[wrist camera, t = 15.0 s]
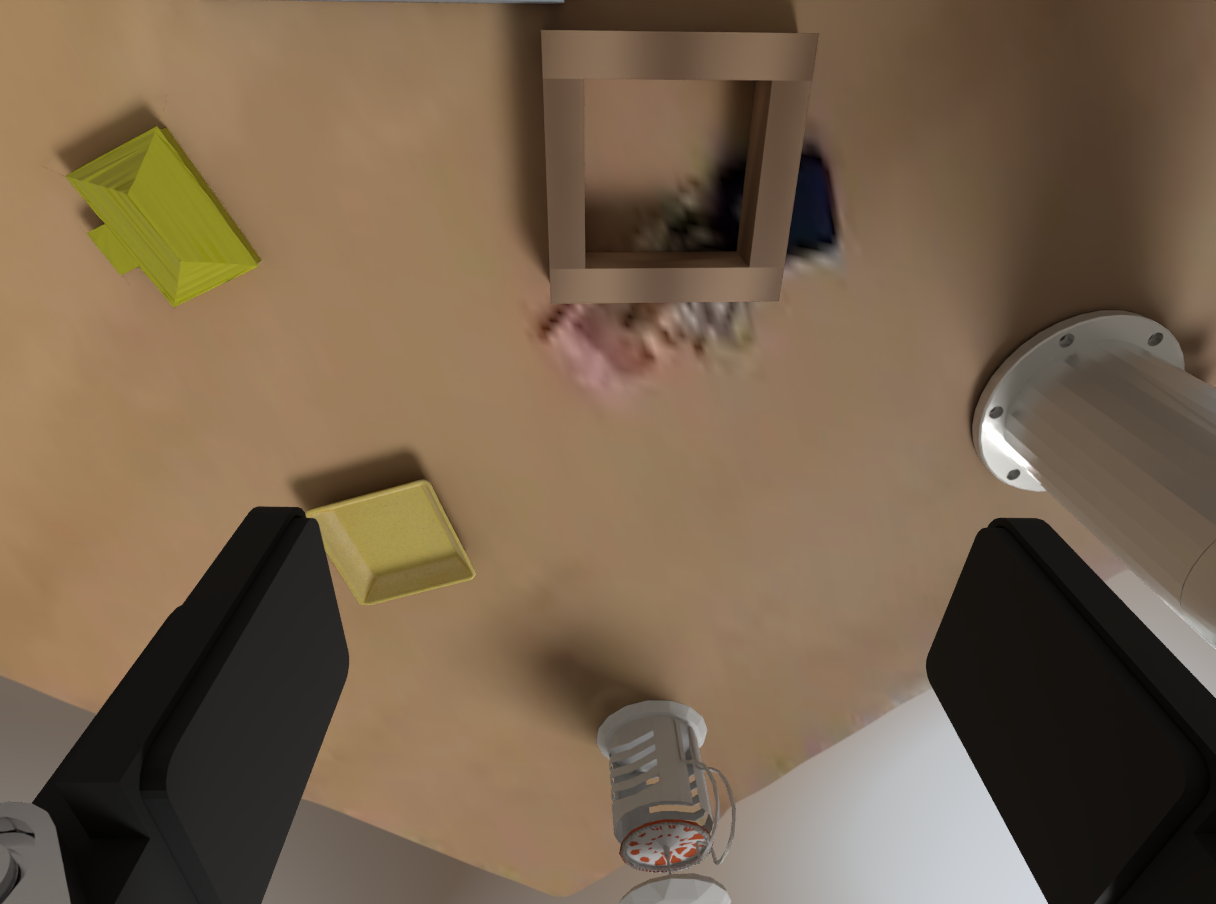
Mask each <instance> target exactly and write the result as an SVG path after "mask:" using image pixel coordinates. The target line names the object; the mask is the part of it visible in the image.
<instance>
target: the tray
mask: <svg viewBox="0 0 1216 904" xmlns="http://www.w3.org/2000/svg"><path fill="white" fill-rule="evenodd" d="M296 1H366V2H436V3H506V4H564V0H296Z"/></svg>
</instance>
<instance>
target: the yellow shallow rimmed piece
mask: <svg viewBox="0 0 1216 904" xmlns="http://www.w3.org/2000/svg"><path fill="white" fill-rule="evenodd" d="M305 515H306V517H307V518H315V519H316V520H317V521H318V524H319V527H320V531H321V535H322V539H323V544H324V548H325V551H326V553H327V554H328V556H329V557H330V559H331V561H332V562H333V563H334V565H335V566H336V568H337V570H338V571H339V573H340V574H341V576H342V577H343V579H344V580H345V582H346V584H347V585H348V587H349V588H350V590H351V591H352V593H353V595H354V596H355V598H356V599H357V601H358V603H360V604H363V605H372V604H377V603H381V602H385V601H388V600H393V599H397V598H400V597H404V596H409V595H412V594H417V593H421V592H424V591H428V590H432V589H436V588H440V587H444V586H448V585H452V584H457V583H460V582H465V581H469V580H471V579H473V578H474V577H475V575H476V572H475V570H474V568H473V566H472V564H471V562H470V560H469V558H468V556H467V554H466V552H465V550H464V548H463V547H462V545H461V543H460V541H459V539H458V537H457V535H456V533H455V531H454V529H453V527H452V525H451V523H450V521H449V519H448V517H447V515H446V513H445V511H444V509H443V507H442V505H441V504H440V502H439V500H438V497H437V495H436V493H435V491H434V489H433V487H432V485H431V484H430V482H429V481H427V480H425V479H421V480H417V481H413V482H410V483H406V484H402V485H398V486H395V487H391V488H387V489H384V490H380V491H376V492H373V493H369V494H365V495H361V496H357V497H354V498H350V499H346V500H343V501H339V502H335V503H331V504H328V505H324V506H320V507H316V508H313V509H310V510H307V511H305Z"/></svg>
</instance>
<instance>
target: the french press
mask: <svg viewBox="0 0 1216 904" xmlns="http://www.w3.org/2000/svg"><path fill="white" fill-rule="evenodd" d="M706 733H707V728H706V725H705V722H704V720H703V717H702V716H701V715H700V714H698V713H697V712H696V711H695V710H693V709H692V708H691V707H690V706H687V705H683V704H680V703H677V702H673V701H666V700H647V701H643V702H639V703H635V704H631V705H627V706H625V707H623V708H621V709H620V710H618V711H616V712H615V713H613V714H611V715H609V716H608V717H607V719H606V720H605V721H604V723H603V724H602V725H601V726H600V728H599V729H598V736H597V744H598V746H599V748H600V750H601V752H602V754H603V755H604V756H605V757H607V758H608V759H610V761H609V766H610V771H611V774H610V780H611V785H612V788H611V795H612V800H613V804H612V812H613V825H614V835H615V837H616V838H617V840H618V842H619V843H620V844H621V847H620V853H619V854H620V856H621V857H622V859H623V861H624V862H625V863H626V864H628V865H630V866H631V867H633V868H634V869H636V870H637V869H638V870H640V871H643V872H645V871H647V872H651V873H652V872H655V873H656V872H659V873H661V872H663V873H665V872H668V874H669V875H667V876H663V877H658V878H653V879H649V880H647V881H645V882H643V883H641V884H639V885H637V886H635V887H633V888H632V889H631V890H630V891H629V892H628V893H627V894H626V895H625V896H624V897H623V898H622V899H621V901H620V903H619V904H730V903H731V900H730V897H729V895H728V892H727V890H726V889H725V887H724V886H723V885H722V884H720V883H719V882H717V881H715V880H714V879H713V878H711V877H707V876H702V875H698V874H693V873H692V874H691V873H690V874H671V872H674V871H678V870H680V871H681V870H682V869H683V870H685V869H686V868H688V869H689V868H690V866H691V867H692V866H693V865H696V864H699V863H700V862H701V861H702V860H703V859H704V858H705V857H707V856H708V854H709V853H710V852H711V853H712V857H713V860H714V863H715V864H716V865H718V864H721V863H722V862H723V860H724V858H725V857H726V855H727V853H728V852H729V850H730V847H731V843H732V840H733V836H734V828H735V809H736V808H735V804H734V799H733V795H732V791H731V788H730V786H729V783H728V781H727V779H726V778H725V777H724V775H723V774H722V773H721V772H720V771H719V770H717V769H714V768H712V767H707V766H706V765H705V764H704V763H702V761H701V756H700V751H699V748H700V747H701V746H702V744H703V743H704V740H705V736H706ZM611 764H613V769H612V767H611ZM704 771H706V772H707V774H708V775H709V777H710V780H711V782H712V784H713V789H714V795H715V800H716V810H715V823H714V828H713V831H712V835H711V836H710V834H709V833H710V832H711V830H712V826H713V819H712V814H711V808H710V803H709V798H708V792H707V787H706V782H705V777H704ZM710 771H713V772H715V773H717V774H719V775H720V777H721V778H722V780H723V782H724V783H725V785H726V787H727V791H728V794H729V798H730V801H731V805H732V826H731V834H730V838H729V841H728V845H727V849H726V850H725V852H724V854H723V855H722V857H721V859H720V860H718V861H717V860H716V856H715V852H714V850H713V848H712V845H713V842H714V837H715V833H716V829H717V825H718V821H719V796H718V791H717V786H716V781H715V780H714V778H713V776H712V774H711V772H710ZM693 774H695V779H696V780H695V781H693V782H692V783H690V782H689V777H690V776H692V775H693ZM655 777H659V779H660V781H659V782H657V783H655V784H651V785H646V780H648V779H650V778H655ZM612 778H614V783H613V781H612ZM696 788H697V790H698V795H696V796H694V797H693V798H692V794H691V791H692V790H694V789H696ZM614 792H615V798H614V795H613V793H614ZM699 802H700V807H701V808H702V809H700V810H699V811H697V812H695V813H688V812H678V811H660V812H655V813H649V807H652V806H656V805H686V806H694V805H696V804H698V803H699ZM706 811H707V812H708V813H709V815H708V817H707V820H706V823H705V825H703V826H700V825H699V824H697V823H695V822H691V821H697V820H699V819H700V818H702V817H704V815H705V812H706ZM661 819H662V820H661ZM657 820H658V821H657ZM686 820H689V821H686ZM652 821H654V822H652Z"/></svg>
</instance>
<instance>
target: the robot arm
mask: <svg viewBox="0 0 1216 904" xmlns="http://www.w3.org/2000/svg"><path fill="white" fill-rule="evenodd" d="M972 432H973V443H974V446H975V450H976V453H977V455H978V457H979V458H980V460H981V461H982V463H983V464H984V466H985V467H986V468H987V469H988V470H989V471H990V472H991V473H992V474H993V475H994V476H995V477H997V478H998V479H999V480H1001V481H1002V482H1004V483H1005V484H1008V485H1010V486H1013V487H1016V488H1018V489H1022V490H1029V491H1047V492H1049V493H1050V494H1051V495H1052V496H1053V497H1054V498H1055V499H1056V500H1057V501H1058V502H1059V503H1060V504H1061V505H1062V506H1063V507H1064V508H1065V509H1067V510H1068V511H1069V512H1070V513H1071V514H1072V515H1073V516H1074V517H1075V518H1076V519H1077V520H1078V521H1079V522H1080V523H1081V524H1082V525H1083V526H1084V527H1086V528H1087V529H1088V530H1089V531H1090V532H1091V533H1092V534H1093V535H1094V536H1095V537H1096V538H1097V539H1098V540H1099V541H1100V542H1101V543H1102V544H1103V545H1105V546H1106V547H1107V548H1108V549H1109V550H1110V551H1111V552H1112V553H1113V554H1114V555H1115V556H1116V557H1117V558H1118V559H1119V560H1120V561H1121V562H1122V563H1124V564H1125V565H1126V566H1127V567H1128V568H1129V569H1130V570H1131V571H1132V572H1133V573H1134V574H1135V575H1136V576H1137V577H1138V578H1139V579H1141V581H1143V582H1144V583H1145V584H1146V585H1147V586H1148V587H1149V588H1150V589H1151V590H1152V591H1153V592H1154V593H1155V594H1156V595H1157V596H1158V597H1159V598H1161V599H1162V600H1163V601H1164V602H1165V603H1166V604H1167V605H1168V606H1169V607H1170V608H1171V609H1172V610H1173V611H1174V612H1175V613H1176V614H1177V615H1179V616H1180V617H1181V618H1182V619H1183V620H1184V621H1185V622H1186V623H1187V624H1188V625H1189V626H1190V627H1192V628H1193V629H1194V630H1195V631H1196V632H1197V633H1198V634H1199V635H1200V636H1201V637H1202V638H1204V640H1205V641H1207V643H1209V644H1210V645H1211V646H1212V647H1214V648H1215V649H1216V388H1215V387H1213V386H1211V385H1209V384H1207V383H1206V382H1204V381H1202V380H1200V379H1198V378H1196V377H1195V376H1193V375H1191V374H1189V373H1187V372H1185V364H1184V355H1183V353H1182V350H1181V347H1180V345H1179V342H1178V341H1177V340H1176V338H1175V337H1174V336H1173V335H1172V334H1171V332H1170V331H1169V330H1168V329H1166V328H1165V327H1163V326H1162V325H1160V324H1159V323H1157V322H1155V321H1153V320H1151V319H1149V318H1147V317H1144V316H1142V315H1140V314H1137V313H1132V312H1127V311H1122V310H1102V311H1096V312H1091V313H1086V314H1081V315H1078V316H1075V317H1072V318H1069V319H1067V320H1064V321H1061V322H1059V323H1057V324H1055V325H1053V326H1051V327H1049V328H1047V329H1045V330H1043V331H1041V332H1040V333H1038V334H1037V335H1035V336H1034V337H1033V338H1031V339H1030V340H1028V341H1027V342H1025V343H1024V344H1023V345H1021V346H1020V347H1019V348H1018V349H1017V350H1016V351H1015V352H1014V353H1013V354H1011V355H1010V356H1009V357H1008V358H1007V359H1006V360H1005V361H1004V362H1003V364H1002V365H1001V366H1000V367H999V368H998V370H997V371H996V372H995V373H994V375H993V376H992V377H991V379H990V380H989V382H988V384H987V385H986V387H985V389H984V390H983V392H982V394H981V396H980V399H979V402H978V404H977V407H976V409H975V414H974V419H973V425H972ZM348 669H349V653H348V648H347V644H346V639H345V635H344V631H343V626H342V622H341V618H340V613H339V609H338V605H337V600H336V596H335V592H334V587H333V583H332V579H331V574H330V570H329V566H328V561H327V557H326V552H325V548H324V544H323V539H322V535H321V531H320V527H319V524H318V521H317V520H316V519H315V518H307V517H306V515H305V512H304V511H303V510H302V509H301V508H299V507H255V508H253V509H252V510H251V511H250V512H249V513H248V515H247V516H246V517H245V519H244V520H243V522H242V523H241V524H240V526H239V527H238V529H237V530H236V531H235V533H234V534H233V535H232V537H231V538H230V540H229V541H228V542H227V544H226V545H225V547H224V548H223V549H222V551H221V552H220V553H219V555H218V556H217V558H216V559H215V560H214V562H213V563H212V565H211V566H210V567H209V569H208V570H207V571H206V573H205V574H204V576H203V577H202V578H201V580H200V581H199V583H198V584H197V585H196V587H195V588H194V589H193V591H192V592H191V594H190V595H189V596H188V598H187V599H186V601H185V602H184V603H183V605H181V606H179V607H177V608H176V609H175V610H174V611H173V612H172V613H171V614H170V615H169V617H168V618H167V619H166V621H165V622H164V623H163V625H162V626H161V627H160V629H159V630H158V631H157V633H156V634H155V636H154V637H153V638H152V640H151V641H150V642H149V644H148V645H147V646H146V648H145V649H144V651H143V652H142V653H141V655H140V656H139V657H138V659H137V660H136V661H135V663H134V664H133V666H132V667H131V668H130V670H129V671H128V672H127V674H126V675H125V677H124V678H123V679H122V681H121V682H120V683H119V685H118V686H117V687H116V689H115V690H114V692H113V693H112V694H111V696H110V697H109V698H108V700H107V701H106V702H105V704H104V705H103V707H102V708H101V709H100V711H99V712H98V713H97V715H96V716H95V718H94V719H93V720H92V722H91V723H90V724H89V726H88V727H87V729H86V730H85V731H84V733H83V734H82V735H81V737H80V738H79V740H78V741H77V742H76V743H75V745H74V746H73V748H72V749H71V750H70V752H69V753H68V754H67V756H66V757H65V759H64V760H63V761H62V763H61V764H60V765H59V767H58V768H57V769H56V771H55V772H54V774H53V775H52V776H51V778H50V779H49V780H48V782H47V783H46V784H45V786H44V787H43V789H42V790H41V791H40V793H39V794H38V795H37V797H36V798H35V800H34V801H33V802H32V803H22V802H4V803H0V904H261V903H262V900H263V897H264V895H265V892H266V889H267V887H268V884H269V881H270V879H271V876H272V874H273V871H274V868H275V866H276V863H277V860H278V858H279V855H280V852H281V850H282V847H283V844H284V842H285V839H286V836H287V834H288V832H289V829H290V826H291V824H292V821H293V818H294V815H295V813H296V810H297V808H298V805H299V802H300V800H301V797H302V795H303V792H304V789H305V787H306V784H307V781H308V779H309V776H310V774H311V771H312V768H313V766H314V763H315V760H316V758H317V755H318V752H319V750H320V747H321V745H322V742H323V739H324V737H325V734H326V731H327V729H328V726H329V724H330V721H331V718H332V716H333V713H334V710H335V708H336V705H337V702H338V700H339V697H340V695H341V692H342V689H343V687H344V684H345V681H346V678H347V674H348ZM926 671H927V676H928V679H929V682H930V684H931V686H932V688H933V690H934V691H935V693H936V695H937V697H938V699H939V701H940V702H941V705H942V706H943V708H944V710H945V712H946V714H947V716H948V718H949V719H950V721H951V723H952V725H953V727H954V729H955V731H956V732H957V734H958V736H959V738H960V740H961V742H962V744H963V746H964V747H965V749H966V751H967V753H968V755H969V757H970V759H971V761H972V762H973V764H974V766H975V768H976V770H977V771H978V774H979V775H980V777H981V779H982V781H983V783H984V785H985V787H986V788H987V790H988V792H989V794H990V796H991V798H992V800H993V802H994V803H995V805H996V807H997V809H998V811H999V813H1000V814H1001V816H1002V818H1003V820H1004V822H1005V824H1006V826H1007V828H1008V829H1009V831H1010V833H1011V835H1012V837H1013V839H1014V841H1015V842H1016V844H1017V846H1018V848H1019V850H1020V852H1021V854H1022V856H1023V857H1024V859H1025V861H1026V863H1027V865H1028V867H1029V868H1030V871H1031V872H1032V874H1033V876H1034V878H1035V880H1036V882H1037V883H1038V885H1039V887H1040V889H1041V891H1042V893H1043V895H1044V897H1045V899H1046V900H1047V902H1048V904H1216V698H1215V697H1214V696H1213V695H1212V694H1211V693H1210V692H1209V691H1208V690H1207V689H1206V688H1205V687H1204V686H1203V685H1202V684H1201V683H1200V682H1199V681H1198V679H1196V677H1195V676H1193V675H1192V673H1190V671H1189V670H1188V669H1187V668H1186V667H1185V666H1184V665H1183V664H1182V663H1181V662H1180V661H1179V660H1178V659H1177V658H1176V657H1175V656H1174V654H1172V652H1171V651H1170V650H1169V649H1168V648H1166V646H1165V645H1164V644H1163V643H1162V642H1161V641H1160V640H1159V639H1158V638H1157V637H1156V636H1155V635H1154V634H1153V633H1152V632H1151V631H1150V629H1148V628H1147V627H1146V625H1145V624H1144V623H1143V622H1142V621H1141V620H1140V619H1139V618H1138V617H1137V616H1136V615H1135V614H1134V613H1133V612H1132V611H1131V610H1130V609H1129V608H1128V607H1127V606H1126V605H1125V603H1124V602H1123V601H1122V600H1121V599H1119V597H1118V596H1117V595H1116V594H1115V593H1114V592H1113V591H1112V590H1111V589H1110V588H1109V587H1108V586H1107V585H1106V584H1105V583H1104V582H1103V581H1102V580H1101V578H1100V577H1099V576H1098V575H1097V574H1096V573H1095V572H1094V571H1093V570H1092V569H1091V568H1090V567H1089V566H1088V565H1087V564H1086V563H1085V562H1084V561H1083V560H1082V559H1081V558H1080V557H1079V556H1078V555H1077V553H1076V552H1075V551H1074V550H1073V549H1072V548H1071V547H1070V546H1069V545H1068V544H1067V543H1066V542H1065V541H1064V540H1063V539H1062V538H1061V537H1060V536H1059V535H1058V534H1057V533H1056V532H1055V531H1054V530H1053V528H1052V527H1051V526H1050V525H1049V524H1047V523H1046V522H1045V521H1043V520H1041V519H1037V518H997V519H994V520H993V521H992V522H991V523H990V524H989V525H988V527H987V528H983V529H981V530H980V531H979V532H978V534H977V535H976V537H975V540H974V542H973V545H972V547H971V550H970V552H969V555H968V557H967V560H966V562H965V565H964V567H963V570H962V572H961V574H960V577H959V579H958V582H957V584H956V587H955V589H954V592H953V594H952V597H951V599H950V602H949V604H948V607H947V609H946V611H945V614H944V616H943V619H942V621H941V624H940V626H939V629H938V631H937V634H936V636H935V639H934V641H933V644H932V646H931V648H930V651H929V653H928V656H927V660H926Z"/></svg>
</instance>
